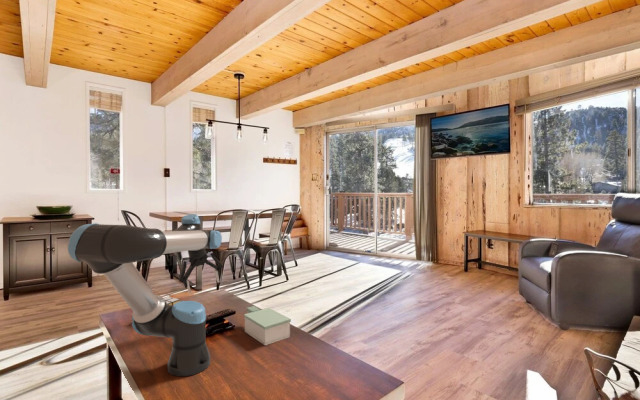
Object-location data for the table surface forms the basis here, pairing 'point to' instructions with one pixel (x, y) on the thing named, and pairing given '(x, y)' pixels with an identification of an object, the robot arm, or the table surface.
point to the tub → (267, 332)
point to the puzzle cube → (171, 300)
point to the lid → (265, 317)
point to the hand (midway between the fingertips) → (204, 286)
